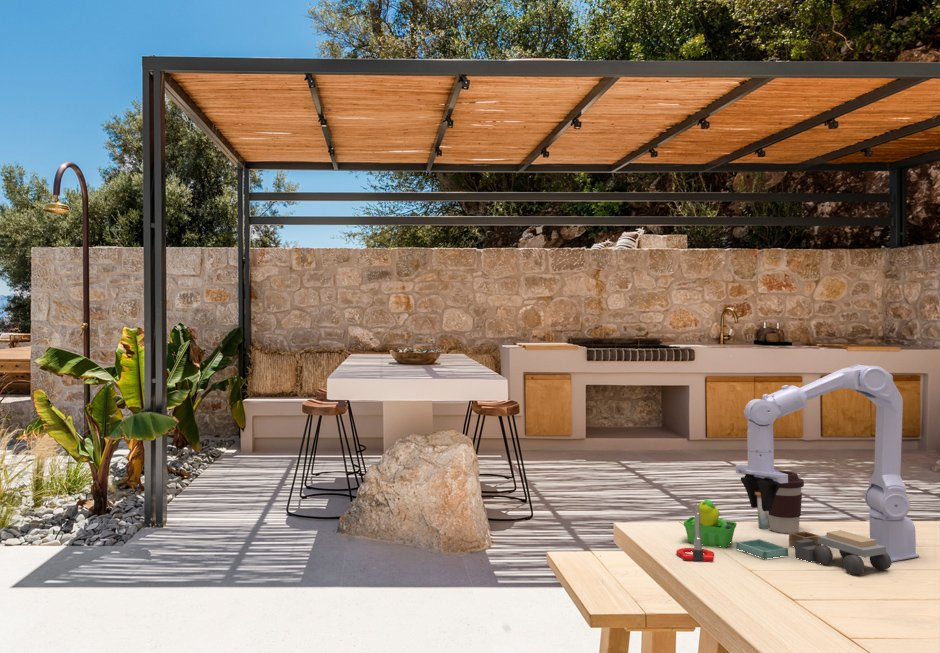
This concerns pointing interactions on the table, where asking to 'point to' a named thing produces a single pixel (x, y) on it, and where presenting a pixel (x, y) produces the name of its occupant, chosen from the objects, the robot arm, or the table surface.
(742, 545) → the tray
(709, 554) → the tow hook
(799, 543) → the block
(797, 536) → the pin socket
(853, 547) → the trolley
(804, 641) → the table surface
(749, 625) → the table surface
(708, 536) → the fruit basket
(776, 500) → the coffee cup
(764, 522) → the pin
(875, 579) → the table surface
